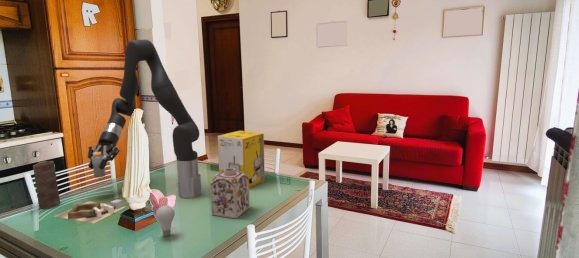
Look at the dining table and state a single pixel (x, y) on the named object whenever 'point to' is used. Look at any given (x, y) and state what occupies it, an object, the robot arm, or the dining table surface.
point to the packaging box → (243, 154)
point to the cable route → (106, 209)
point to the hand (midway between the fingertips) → (95, 168)
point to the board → (90, 220)
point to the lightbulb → (165, 218)
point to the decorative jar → (229, 193)
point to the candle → (46, 184)
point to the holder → (78, 213)
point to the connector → (97, 164)
